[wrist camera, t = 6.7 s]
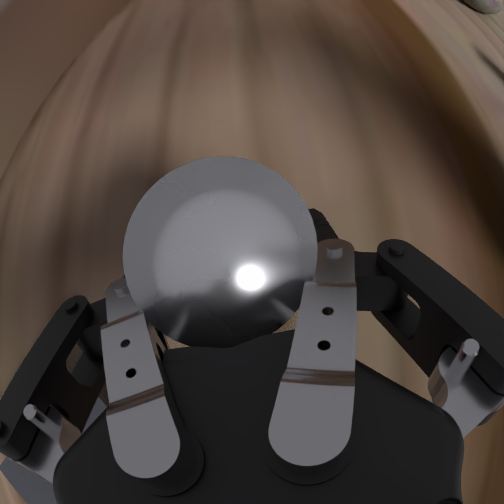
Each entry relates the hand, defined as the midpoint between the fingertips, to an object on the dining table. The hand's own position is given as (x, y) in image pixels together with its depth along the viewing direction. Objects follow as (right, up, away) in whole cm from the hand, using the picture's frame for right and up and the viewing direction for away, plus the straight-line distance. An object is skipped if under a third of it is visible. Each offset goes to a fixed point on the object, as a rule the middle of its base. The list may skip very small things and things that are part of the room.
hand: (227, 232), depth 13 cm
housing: (+1, -3, +4) cm, 5 cm away
